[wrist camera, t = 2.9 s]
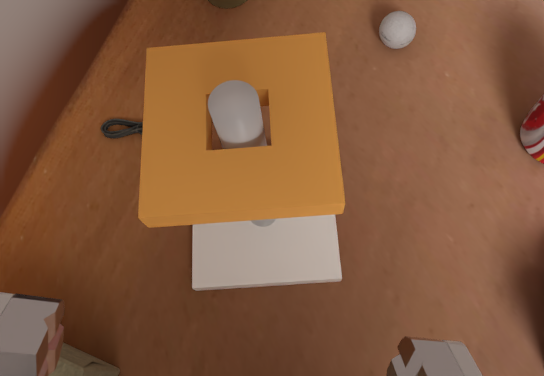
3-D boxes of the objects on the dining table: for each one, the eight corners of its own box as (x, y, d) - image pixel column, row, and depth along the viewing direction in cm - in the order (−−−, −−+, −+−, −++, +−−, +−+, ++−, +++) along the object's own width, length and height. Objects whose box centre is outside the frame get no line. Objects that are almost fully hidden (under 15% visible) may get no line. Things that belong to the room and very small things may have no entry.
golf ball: (372, 51, 55) (377, 27, 51) (382, 24, 56) (387, -1, 52) (406, 59, 54) (414, 36, 50) (415, 32, 55) (423, 7, 51)
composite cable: (99, 138, 53) (90, 127, 51) (118, 102, 55) (109, 90, 52) (179, 162, 51) (173, 152, 49) (196, 124, 53) (191, 113, 51)
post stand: (340, 281, 45) (369, 207, 25) (195, 290, 46) (106, 226, 25) (326, 149, 50) (341, -4, 30) (196, 159, 51) (122, 16, 31)
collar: (342, 213, 29) (345, 203, 27) (148, 227, 29) (138, 218, 28) (324, 51, 33) (325, 32, 31) (155, 65, 34) (146, 47, 32)
